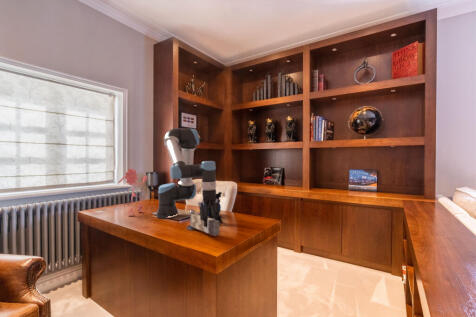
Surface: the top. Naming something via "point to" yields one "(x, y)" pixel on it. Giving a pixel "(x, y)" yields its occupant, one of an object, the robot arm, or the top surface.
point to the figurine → (131, 178)
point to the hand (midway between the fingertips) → (210, 231)
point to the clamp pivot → (191, 221)
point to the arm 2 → (217, 224)
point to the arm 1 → (199, 225)
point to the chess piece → (210, 208)
